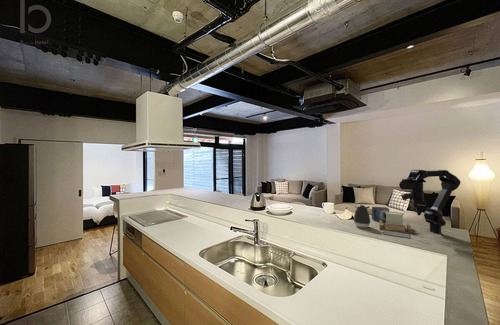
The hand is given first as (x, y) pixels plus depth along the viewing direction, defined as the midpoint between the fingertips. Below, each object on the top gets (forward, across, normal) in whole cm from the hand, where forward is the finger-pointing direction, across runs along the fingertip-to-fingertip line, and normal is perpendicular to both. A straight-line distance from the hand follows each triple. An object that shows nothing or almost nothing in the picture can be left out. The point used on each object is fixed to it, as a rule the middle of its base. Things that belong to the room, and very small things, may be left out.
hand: (417, 213), depth 132 cm
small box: (+12, -19, -20) cm, 30 cm away
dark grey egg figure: (+12, +4, -31) cm, 34 cm away
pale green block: (+12, -4, -12) cm, 18 cm away
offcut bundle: (+12, +3, -12) cm, 17 cm away
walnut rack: (+12, -2, -12) cm, 17 cm away
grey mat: (+12, +12, -12) cm, 20 cm away
